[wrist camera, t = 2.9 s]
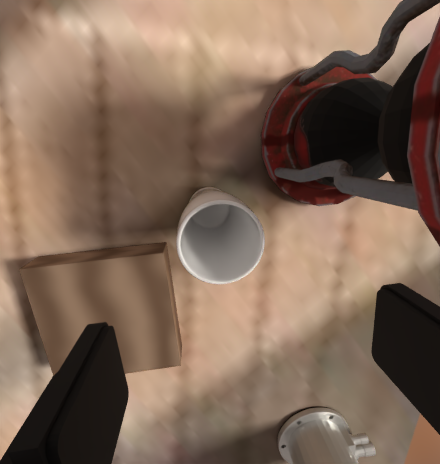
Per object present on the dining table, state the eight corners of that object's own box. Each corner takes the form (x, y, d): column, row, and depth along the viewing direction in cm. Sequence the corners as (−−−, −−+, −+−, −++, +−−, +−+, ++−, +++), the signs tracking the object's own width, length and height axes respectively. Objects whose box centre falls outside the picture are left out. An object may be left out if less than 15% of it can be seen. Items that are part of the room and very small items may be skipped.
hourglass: (235, 116, 31) (372, -11, 8) (355, 36, 30) (959, -408, 6) (297, 226, 36) (504, 366, 12) (402, 160, 35) (861, 169, 11)
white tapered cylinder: (201, 242, 35) (207, 301, 21) (171, 199, 33) (156, 231, 19) (245, 215, 35) (281, 256, 20) (217, 169, 33) (237, 180, 19)
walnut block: (166, 242, 35) (163, 252, 31) (181, 345, 39) (180, 365, 35) (38, 256, 34) (19, 269, 30) (69, 360, 38) (56, 383, 34)
